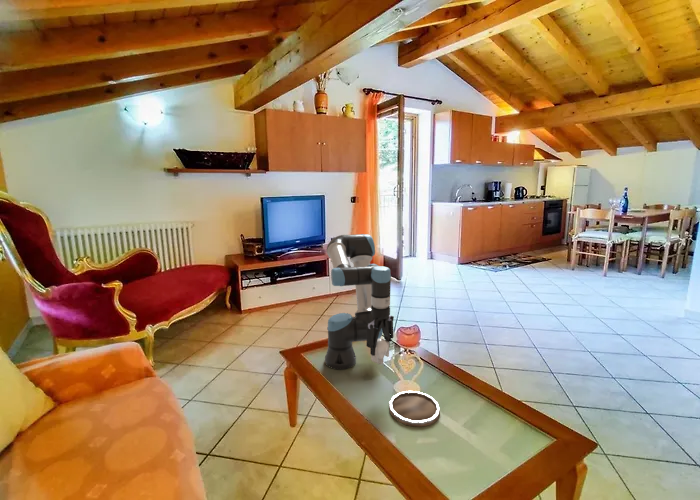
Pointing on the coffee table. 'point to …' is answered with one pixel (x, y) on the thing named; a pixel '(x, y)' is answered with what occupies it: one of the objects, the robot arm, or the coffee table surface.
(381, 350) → the lightbulb
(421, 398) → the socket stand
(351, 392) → the coffee table surface
